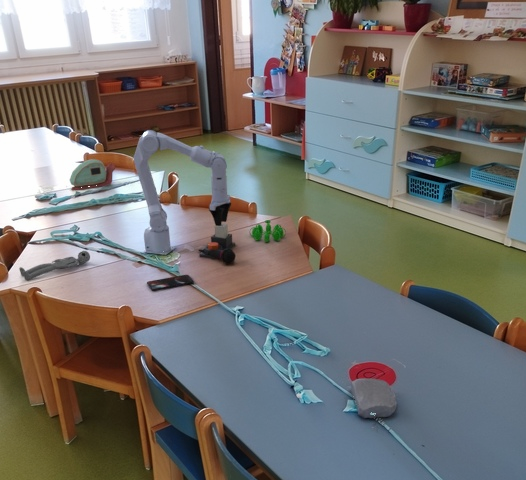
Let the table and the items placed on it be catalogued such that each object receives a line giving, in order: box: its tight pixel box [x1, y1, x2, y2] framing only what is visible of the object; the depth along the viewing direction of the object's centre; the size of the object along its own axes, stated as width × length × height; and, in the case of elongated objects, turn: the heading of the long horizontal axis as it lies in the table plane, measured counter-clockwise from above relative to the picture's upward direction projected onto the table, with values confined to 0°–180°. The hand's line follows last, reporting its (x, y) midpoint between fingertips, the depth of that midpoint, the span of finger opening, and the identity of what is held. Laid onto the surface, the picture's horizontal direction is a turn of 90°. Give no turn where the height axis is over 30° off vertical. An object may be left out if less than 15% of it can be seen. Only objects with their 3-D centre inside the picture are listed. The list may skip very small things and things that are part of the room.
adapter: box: [199, 241, 236, 261], centre depth 224 cm, size 8×16×3 cm, turn 159°
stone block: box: [350, 377, 398, 419], centre depth 137 cm, size 12×5×10 cm
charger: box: [214, 223, 229, 238], centre depth 224 cm, size 4×3×6 cm
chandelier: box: [249, 220, 287, 243], centre depth 235 cm, size 15×15×7 cm
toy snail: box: [69, 158, 116, 191], centre depth 304 cm, size 25×8×14 cm, turn 122°
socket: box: [210, 233, 233, 248], centre depth 226 cm, size 6×6×5 cm
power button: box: [207, 241, 218, 250], centre depth 219 cm, size 4×4×2 cm
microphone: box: [198, 248, 236, 265], centre depth 217 cm, size 6×6×20 cm
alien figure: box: [18, 250, 91, 281], centre depth 208 cm, size 8×5×25 cm
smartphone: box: [146, 274, 195, 291], centre depth 198 cm, size 7×1×15 cm
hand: (221, 223), depth 222 cm, fingers open, 4 cm apart
